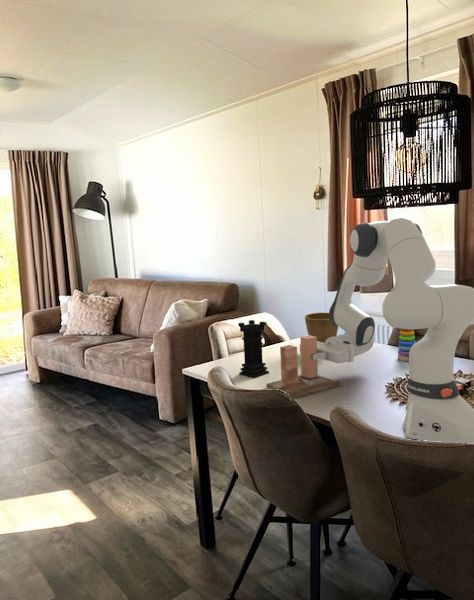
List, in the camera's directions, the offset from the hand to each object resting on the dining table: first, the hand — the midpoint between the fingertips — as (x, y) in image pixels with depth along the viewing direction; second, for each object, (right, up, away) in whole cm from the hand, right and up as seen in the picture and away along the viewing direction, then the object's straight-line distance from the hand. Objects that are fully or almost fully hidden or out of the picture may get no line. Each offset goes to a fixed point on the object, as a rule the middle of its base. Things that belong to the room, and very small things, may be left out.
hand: (307, 355), depth 181 cm
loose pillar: (+1, -7, +2) cm, 8 cm away
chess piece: (-18, -9, +18) cm, 27 cm away
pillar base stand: (-1, -11, 0) cm, 11 cm away
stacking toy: (+44, -5, +27) cm, 52 cm away
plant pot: (+13, -3, +45) cm, 47 cm away
